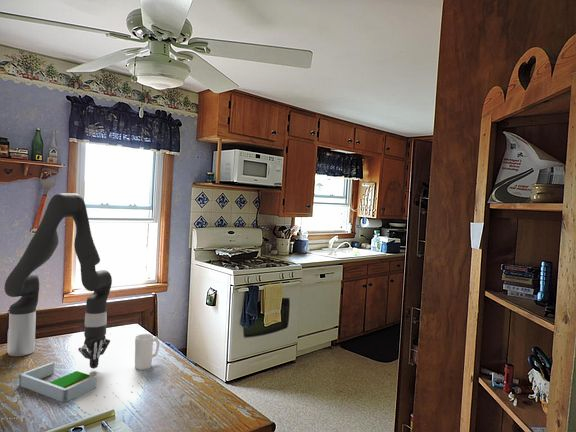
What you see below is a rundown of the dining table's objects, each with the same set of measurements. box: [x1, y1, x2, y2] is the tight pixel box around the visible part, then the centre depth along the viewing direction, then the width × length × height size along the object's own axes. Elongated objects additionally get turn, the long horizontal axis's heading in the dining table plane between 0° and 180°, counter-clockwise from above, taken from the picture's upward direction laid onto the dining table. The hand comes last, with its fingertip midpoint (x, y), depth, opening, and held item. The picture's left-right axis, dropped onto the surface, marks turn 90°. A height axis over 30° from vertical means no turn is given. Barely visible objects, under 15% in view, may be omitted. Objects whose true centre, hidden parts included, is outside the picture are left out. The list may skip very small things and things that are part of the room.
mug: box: [134, 333, 160, 371], centre depth 160 cm, size 10×7×12 cm, turn 137°
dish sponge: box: [48, 370, 91, 388], centre depth 140 cm, size 7×14×2 cm, turn 157°
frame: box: [18, 361, 97, 403], centre depth 139 cm, size 23×12×4 cm, turn 66°
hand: (93, 367), depth 152 cm, fingers closed
